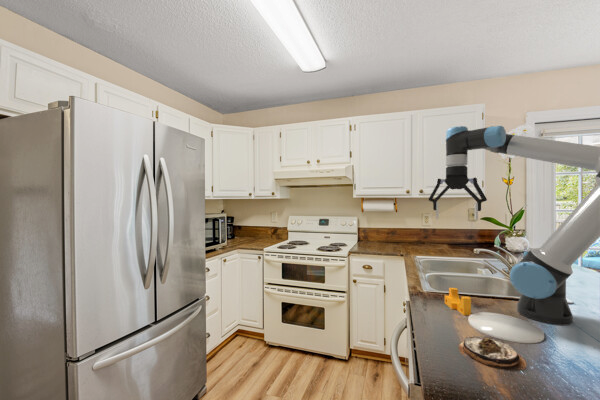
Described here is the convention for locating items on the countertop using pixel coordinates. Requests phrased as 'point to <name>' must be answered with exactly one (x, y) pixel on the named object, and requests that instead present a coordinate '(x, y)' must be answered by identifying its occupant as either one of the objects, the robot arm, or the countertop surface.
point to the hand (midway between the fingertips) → (456, 219)
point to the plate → (506, 327)
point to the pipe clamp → (458, 302)
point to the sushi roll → (492, 352)
